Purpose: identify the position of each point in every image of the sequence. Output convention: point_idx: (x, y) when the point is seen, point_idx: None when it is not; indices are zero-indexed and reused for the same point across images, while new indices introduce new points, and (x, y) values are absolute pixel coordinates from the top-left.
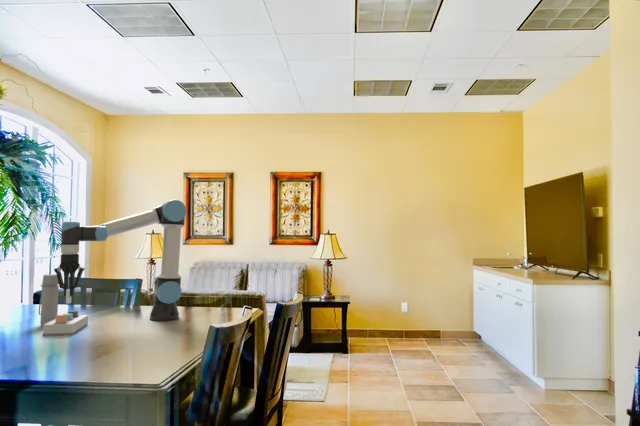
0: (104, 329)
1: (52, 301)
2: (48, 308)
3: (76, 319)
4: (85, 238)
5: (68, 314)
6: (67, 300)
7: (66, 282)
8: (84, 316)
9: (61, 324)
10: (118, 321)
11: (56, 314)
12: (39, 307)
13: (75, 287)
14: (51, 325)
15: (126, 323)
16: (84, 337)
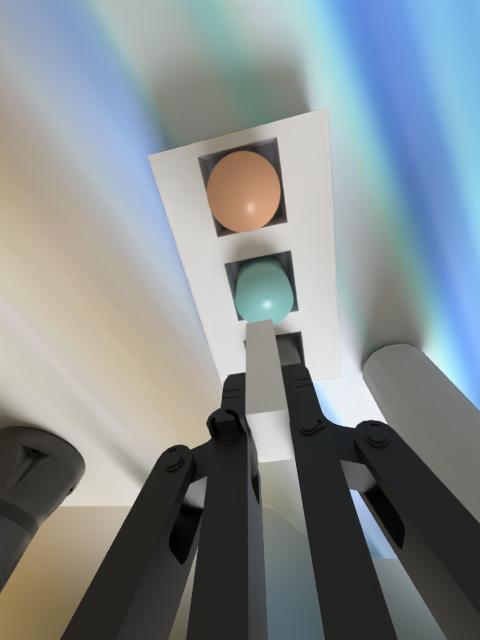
0: (107, 296)
1: (434, 440)
2: (429, 398)
3: (215, 297)
4: None
5: (255, 298)
6: (260, 334)
7: (309, 529)
8: (223, 368)
9: (213, 138)
10: (156, 420)
11: (378, 398)
12: None
13: (173, 452)
14: (274, 122)
15: (104, 394)
16: (64, 103)
